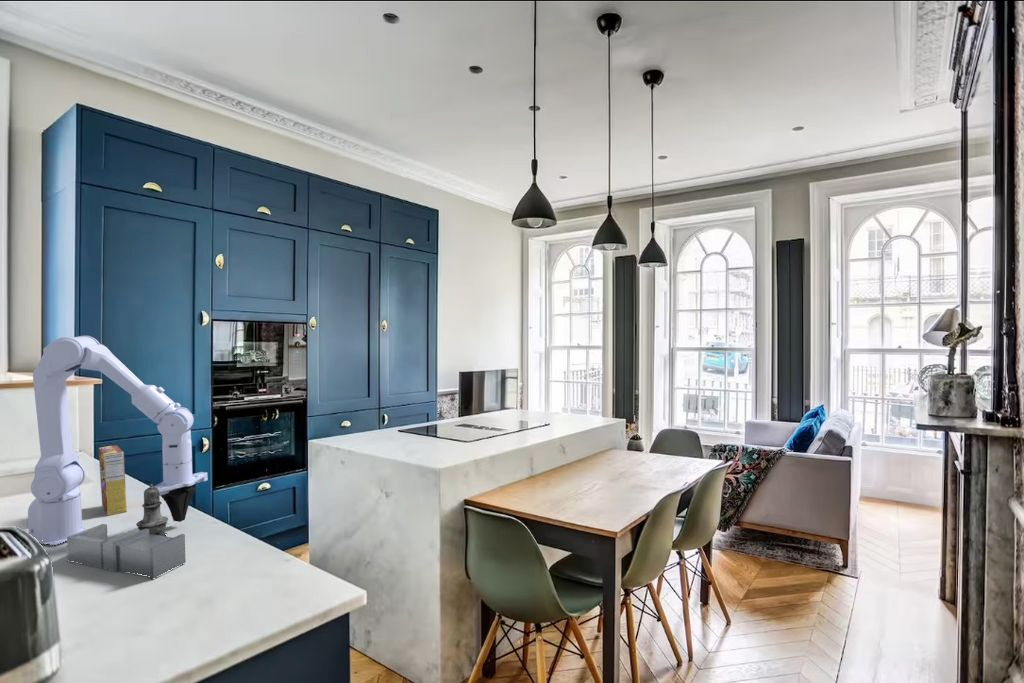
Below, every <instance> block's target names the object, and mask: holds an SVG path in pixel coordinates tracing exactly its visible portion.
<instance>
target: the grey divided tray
mask: <svg viewBox="0 0 1024 683" xmlns="http://www.w3.org/2000/svg"><path fill="white" fill-rule="evenodd" d="M86 529H87V530H84V531H82V532H79V533H76V534H73V535H71V536H68V537H67V542H66V548H67V561H68V560H69V561H74V562H78V563H82V564H85V565H84V566H88V565H90V566H89V567H93V566H94V568H98V567H100V569H103V568H106V569H105V570H108V569H111V570H110V571H113V572H114V571H115V572H114V573H118V572H117V571H123V572H122V573H124V572H130V573H135V574H137V573H138V574H142V575H147V576H150V577H149V579H150V578H156V577H157V576H159V575H161V574H163V573H165V572H167V571H168V570H171V569H172V568H175V567H177V566H179V565H181V564H183V563H185V562H187V561H186V535H185V534H183V533H181V534H178V535H175V536H174V537H171V536H160V535H153V534H149V529H147V528H146V529H143V530H141V531H140V530H139V529H138V528H137V529H136V528H134V529H132V530H128V531H125V532H123V533H121V534H119V535H117V536H114V537H111V538H109V539H108V524H105V523H102V524H99V525H96V526H94V527H93V526H92V527H91V528H86ZM82 564H81V565H82ZM135 574H134V575H135ZM156 579H157V578H156Z"/></svg>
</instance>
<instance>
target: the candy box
mask: <svg viewBox="0 0 1024 683" xmlns="http://www.w3.org/2000/svg"><path fill="white" fill-rule="evenodd" d="M124 452H125V451H123V450H122V449H121V448H120V447H119V446H118V445H108V446H103V447H98V461H99V474H100V476H99V478H100V479H99V480H100V491H101V493H100V494H101V506H102V508H103V509H104V512H105V513H106V516H113V515H118V514H123V513H126V512H127V511H128V509H127V492H126V472H125V471H126V470H125V454H124Z"/></svg>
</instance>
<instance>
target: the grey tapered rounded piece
mask: <svg viewBox="0 0 1024 683" xmlns="http://www.w3.org/2000/svg"><path fill="white" fill-rule="evenodd" d="M160 497H161V496H159V490H158V488H156V487H154V484H153V483H152V482H151V483H150V484H149V487H148V488H146V489H145V490H144V491H143V504H142V505H141V507H142V508H143V518H142V519H141V520H139V521H138V522H136V524H135V525H136V527H137V529H138V530H140V531H141V530H143V529H146V528H147V529H149V534H153V535H160V536H166V535H165V534H167V535H168V533H167V532H165V531H164V530H165V528H166V526H167V524H168V521H169V517H167V516H163V515H162V512H161V505H162V504H163V503H162V501H161V500H160ZM166 537H167V536H166Z"/></svg>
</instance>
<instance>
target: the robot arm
mask: <svg viewBox="0 0 1024 683" xmlns="http://www.w3.org/2000/svg"><path fill="white" fill-rule="evenodd" d="M42 350H43V351H42V352H43V354H42V356H41V358H40V360H39V362H38V363H37V365H36V367H35V369H34V370H33V373H32V382H33V392H34V400H35V410H36V412H35V413H36V420H37V430H38V439H39V450H40V451H39V452H40V457H39V459H38V461H37V463H36V465H35V467H34V476H33V480H32V481H31V484H30V491H31V494H32V496H34V500H32V502H31V503H30V504H29V505H28V509H27V521H28V522H27V524H28V525H27V526H28V535H29V534H31V535H32V536H33V537H35V538H36V539H37V540H38V541H39V542H40V543H39V544H43V543H47V544H50V545H49V546H52V545H53V546H54V545H56V546H58V545H57V544H59V545H60V543H61V544H64V543H66V542H65V541H67V537H68V536H71V535H73V534H76V533H79V532H82V531H84V530H87V529H88V528H83V516H82V515H83V514H82V512H83V510H82V491H81V489H80V488H81V485H82V484H83V483H84V481H85V479H86V476H87V475H86V470H85V468H84V466H82V464H81V463H80V462H81V461H80V456H79V455H78V454H77V453H76V451H74V449H73V441H72V440H73V439H72V431H71V430H72V429H71V420H70V408H69V401H68V390H67V379H68V378H70V377H71V376H72V375H73V374H74V373H76V371H78V370H79V369H81V370H89V371H95V372H97V371H98V372H100V373H102V374H103V375H105V376H106V377H107V378H109V379H110V380H111V381H112V382H114V383H115V384H116V385H118V386H119V387H120V388H122V389H123V390H124V391H125V392H126V393H128V394H129V395H130V397H131V404H132V405H133V406H134V407H136V408H137V409H138V410H139V411H140V412H142V414H144V415H145V416H146V417H147V418H149V419H150V421H152V422H153V423H155V424H157V426H156V427H157V431H158V432H159V434H161V435H162V439H161V440H162V443H161V444H162V445H161V446H162V449H161V450H162V452H161V453H162V481H161V482H160V483H158V484H156V485H153V487H156V488H158V490H159V497H161V498H162V499H163V501H164V502H165V504H166V506H167V507H168V509H169V512H170V515H171V517H172V521H173V522H179V523H180V522H183V521H185V519H186V516H187V512H188V508H189V506H190V502H191V501H192V498H193V496H194V495H195V494H196V490H197V489H196V487H195V486H193V485H195V484H199V483H201V482H206V481H208V472H205V471H204V472H203V471H200V472H196V473H193V452H192V450H193V449H192V448H193V446H192V444H193V443H192V432H191V431H192V430H191V427H192V426H193V424H194V421H195V419H194V415H193V414H192V412H191V411H190V409H189V408H186V407H184V406H183V407H182V405H181V403H179V402H175V401H174V400H172V399H171V398H170V397H169V396H167V395H166V394H165V393H164V392H165V391H166V390H165V389H164V388H163V387H162V386H159V387H157V385H154V384H145V383H143V381H142V380H141V379H139V377H137V376H136V375H135V374H134V373H133V372H132V371H131V370H130V369H129V368H128V367H127V366H126V365H125V364H124V363H123V362H121V361H120V359H119V358H117V357H116V356H115V354H113V353H112V351H111V350H109V348H108V347H107V346H106V345H104V344H103V343H102V344H101V343H100V342H99V341H98V340H97V339H96V338H94V337H93V336H91V335H79V336H71V337H69V336H66V337H65V336H63V337H59V338H57V339H55V340H53V341H52V342H50V343H49V344H47V346H45V347H43V349H42ZM42 540H43V541H42ZM63 542H64V543H63ZM43 545H44V544H43ZM53 546H52V547H53Z"/></svg>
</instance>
